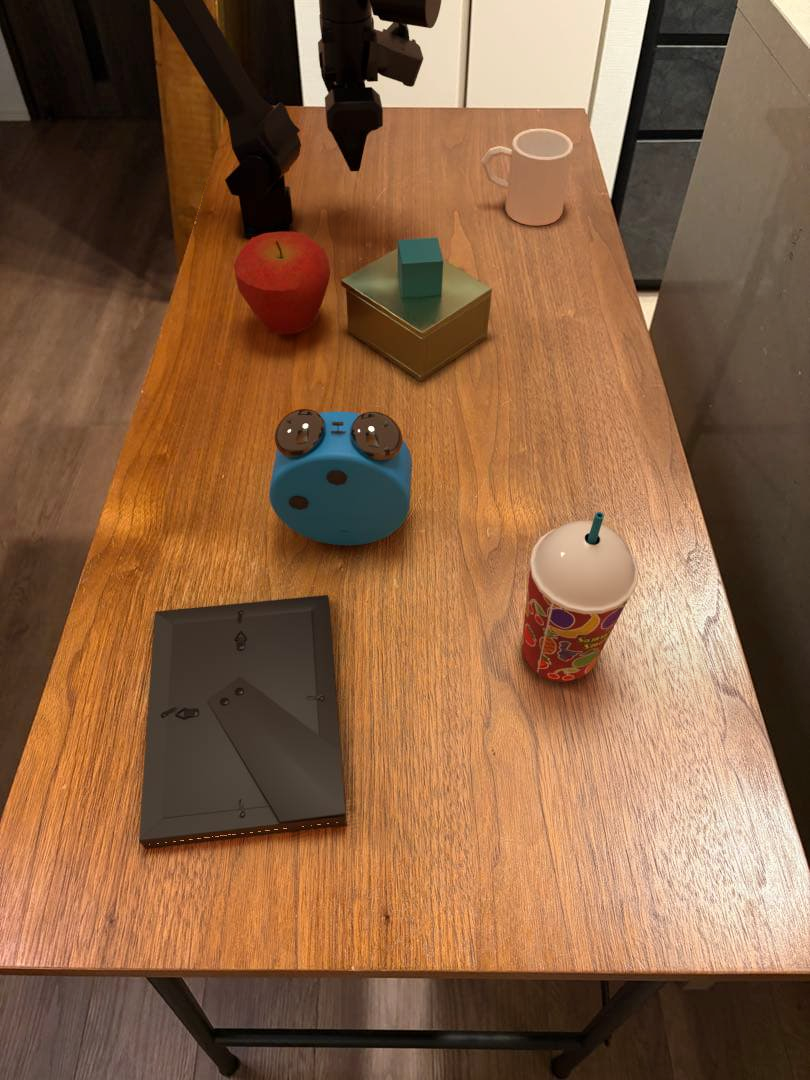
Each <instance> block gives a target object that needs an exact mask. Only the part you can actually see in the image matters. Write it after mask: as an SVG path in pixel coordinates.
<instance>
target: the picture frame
mask: <svg viewBox="0 0 810 1080" xmlns="http://www.w3.org/2000/svg"><path fill="white" fill-rule="evenodd" d="M153 618H154V620H153V621H154V622H153V632H152V633H153V634H152V648H151V662H150V677H149V689H148V690H149V691H148V693H149V694H148V705H147V706H148V707H147V720H146V732H145V733H146V735H145V748H144V749H145V750H144V763H143V777H142V778H143V779H142V790H141V791H142V792H141V805H140V806H141V808H140V822H139V836H138V841H139V843H140V844H141V846H142V847H143V849H144V850H151V849H159V848H167V847H176V846H185V845H194V844H201V843H210V842H219V841H227V840H236V839H244V838H245V839H246V838H254V837H263V836H271V835H277V834H278V835H280V834H286V833H297V832H305V831H312V830H314V831H315V830H322V829H329V828H330V829H331V828H338V827H339V828H340V827H347V826H348V819H347V807H346V805H347V804H346V793H345V781H344V780H345V779H344V770H343V757H342V744H341V732H340V719H339V718H340V717H339V705H338V694H337V681H336V669H335V655H334V645H333V643H334V642H333V630H332V620H331V607H330V597H329V595H328V594H323V595H312V596H303V597H292V598H291V597H290V598H281V599H271V600H259V601H250V602H249V601H248V602H239V603H228V604H220V605H208V606H197V607H187V608H176V609H166V610H157V611H154V617H153ZM345 821H346V822H345ZM336 822H338V823H336ZM327 823H329V824H327ZM317 824H321V825H317ZM311 825H312V826H311ZM302 826H304V827H302ZM283 828H287V829H283ZM274 829H278V830H274ZM265 830H270V831H265ZM258 831H261V832H258ZM250 832H253V833H250ZM241 833H244V834H241ZM228 834H231V835H228ZM232 834H236V835H232ZM220 835H227V836H220ZM212 836H213V837H212ZM215 836H219V837H215ZM204 837H210V838H204ZM197 838H201V839H197ZM189 839H193V840H189ZM180 840H184V841H180ZM173 841H176V842H173ZM165 842H167V843H165ZM157 843H159V844H157ZM149 844H150V845H149Z"/></svg>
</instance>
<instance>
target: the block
mask: <svg viewBox="0 0 810 1080" xmlns="http://www.w3.org/2000/svg"><path fill="white" fill-rule="evenodd" d="M397 248H398V279H399V284H400V290H401V295H402V298H411V297H426V296H441V295H442V278H443V260H444V258H443V254H442V250H441V246H440V242H439V238H438V237H423V238H422V237H421V238H408V239H407V238H405V239H397Z"/></svg>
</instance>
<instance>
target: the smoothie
mask: <svg viewBox="0 0 810 1080" xmlns="http://www.w3.org/2000/svg"><path fill="white" fill-rule="evenodd" d="M593 517H594V518H593V520H590V519H579V520H577V519H576V520H573V521H569V522H567V523H566V522H565V523H563V524H561V525H559V526H558V527H556V528H553V529H551V530H549V531H548V532H546V533H545V534H544V535H542V536H541V537H540V538H539V539H538V540H537V542H536V543H535V545H534V546H533V548H532V550H531V554H530V558H529V573H528V574H529V575H528V584H527V590H526V591H527V592H526V599H525V600H526V601H525V611H524V619H523V626H522V627H523V628H522V636H521V644H520V645H521V649H522V655H523V657H524V659H525V660H526V662H527V664H528V665H529V666H530V667H531V668H532V670H533V671H534V672H535V673H536V674H538V675H539V676H540V677H542V678H544V679H546V680H547V681H551V682H557V683H565V682H566V683H567V682H570V681H575V680H577V679H580V678H583V677H585V676H586V675H587V674H588V673H590V672H591V671H592V670H593V668H594V666H595V664H596V663H597V660H598V659H599V657H600V655H601V653H602V652H603V649H604V647H605V645H606V643H607V641H608V639H609V638H610V636H611V633H612V632H613V630H614V628H615V627H616V624H617V622H618V621H619V619H620V616H621V614H622V613H623V611H624V610H625V609H624V608H625V607H626V605H627V603H628V601H629V600H630V598H631V597H632V595H633V593H634V591H635V589H636V588H637V586H638V581H639V573H640V570H639V567H638V564H637V560H636V557H635V555H634V554H633V553H632V551H631V549H630V547H629V546H628V544H627V542H626V541H625V539H624V538H623V537H622V535H620V534H619V532H617V531H615V529H614V528H612V527H610V526H608V525H606V524H604V523H603V521H604V517H605V514H604V513H603V512H602V511H597V512H595V514H594V516H593Z"/></svg>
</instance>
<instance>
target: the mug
mask: <svg viewBox="0 0 810 1080" xmlns="http://www.w3.org/2000/svg"><path fill="white" fill-rule="evenodd" d="M573 151H574V144H573V141H572V140H571V138H570V137H569V136H567V135H566V134H564V133H562V132H560V131H557V130H554V129H550V128H540V127H539V128H530V129H527V130H523V131H521V132H519V133H518V134H516V135H515V136H514V137H513V139H512V144H511V148H509V147H506V146H503V145H498V146H494V147H491V148H489V149H488V150H487V152H486V153H485V154H484V156H483V158H482V159H481V165H482V167H483V170H484V172H485V176H486V178H487V180H488V181H489V182H491V183H492V184H494V185H495V186H497V187H499V188H502V189H504V190H506V196H505V209H504V210H505V212H506V214H507V216H508V217H509V218H510V219H512V221H515V222H517V223H519V224H522V225H526V226H533V227H534V226H536V227H541V226H547V225H550V224H552V223H555V222H556V221H557V220H559V219H560V217H561V216H562V214H563V210H564V204H565V198H566V193H567V186H568V181H569V175H570V169H571V163H572V159H573V158H572V156H573ZM502 155H504V156H507V157H509V158H510V162H509V171H508V178H507V179H508V180H504V179H502V178H500V177H499V176H498V175H496V174H495V173H494V171H493V168H492V165H491V164H490V163H491V162H492V160H493V159H494V158H495V157H498V156H502Z"/></svg>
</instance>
